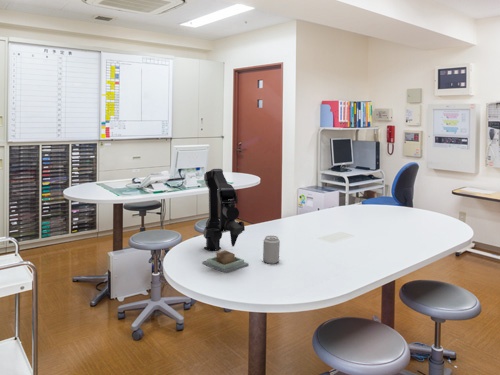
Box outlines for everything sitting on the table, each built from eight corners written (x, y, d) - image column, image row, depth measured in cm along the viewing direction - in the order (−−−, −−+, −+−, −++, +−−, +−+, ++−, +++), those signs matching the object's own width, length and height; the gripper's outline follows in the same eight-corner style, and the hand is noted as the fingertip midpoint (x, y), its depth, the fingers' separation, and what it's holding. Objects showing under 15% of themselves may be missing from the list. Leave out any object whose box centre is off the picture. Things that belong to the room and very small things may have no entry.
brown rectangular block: (216, 261, 190) (216, 252, 189) (224, 259, 193) (225, 250, 193) (226, 265, 185) (226, 256, 184) (234, 263, 188) (234, 254, 187)
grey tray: (202, 263, 190) (202, 258, 189) (225, 257, 200) (225, 252, 199) (225, 273, 179) (225, 267, 178) (248, 265, 189) (248, 260, 188)
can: (265, 264, 190) (266, 239, 189) (261, 259, 198) (261, 235, 196) (281, 263, 192) (282, 238, 191) (275, 258, 200) (276, 234, 198)
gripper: (222, 221, 173) (222, 257, 176) (253, 214, 186) (252, 248, 189) (205, 216, 181) (205, 251, 183) (236, 210, 194) (235, 242, 196)
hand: (225, 248), depth 188 cm, fingers open, 9 cm apart
